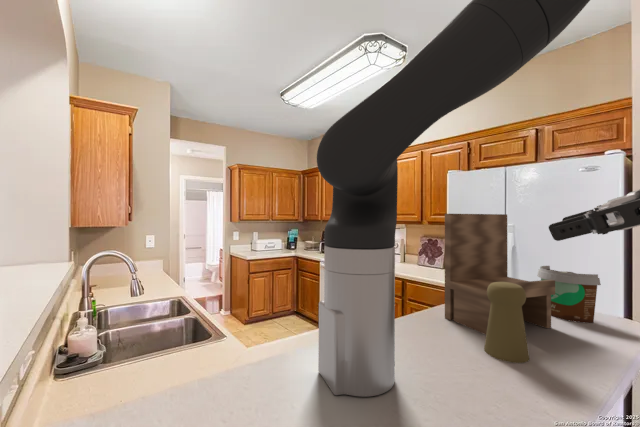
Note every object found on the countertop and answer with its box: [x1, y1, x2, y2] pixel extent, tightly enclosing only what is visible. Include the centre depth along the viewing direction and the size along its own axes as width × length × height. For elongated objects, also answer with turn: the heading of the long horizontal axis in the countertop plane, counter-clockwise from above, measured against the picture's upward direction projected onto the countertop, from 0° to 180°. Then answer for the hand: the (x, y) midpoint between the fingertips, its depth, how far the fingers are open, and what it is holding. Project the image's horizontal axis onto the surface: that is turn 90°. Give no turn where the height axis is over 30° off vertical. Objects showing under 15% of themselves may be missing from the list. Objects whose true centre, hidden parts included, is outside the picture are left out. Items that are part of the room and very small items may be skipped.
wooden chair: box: [444, 213, 555, 336], centre depth 61 cm, size 16×12×22 cm
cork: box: [483, 282, 531, 364], centre depth 47 cm, size 6×6×11 cm
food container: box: [537, 265, 601, 324], centre depth 66 cm, size 12×6×10 cm, turn 6°
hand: (558, 229), depth 41 cm, fingers open, 8 cm apart
